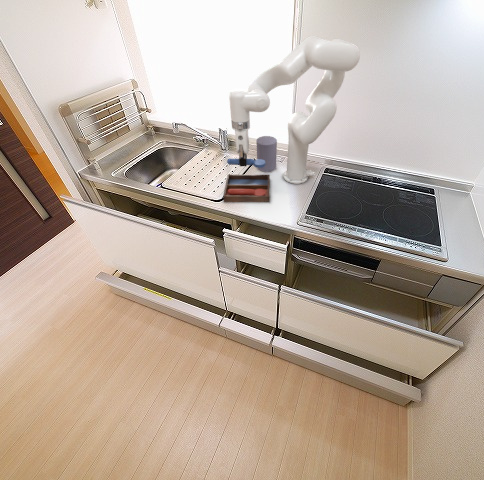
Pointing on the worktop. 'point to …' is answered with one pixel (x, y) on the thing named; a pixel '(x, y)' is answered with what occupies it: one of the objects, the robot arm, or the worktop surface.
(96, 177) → the worktop surface
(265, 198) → the cutlery tray
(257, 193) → the red spoon
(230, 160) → the blue spoon
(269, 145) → the container
